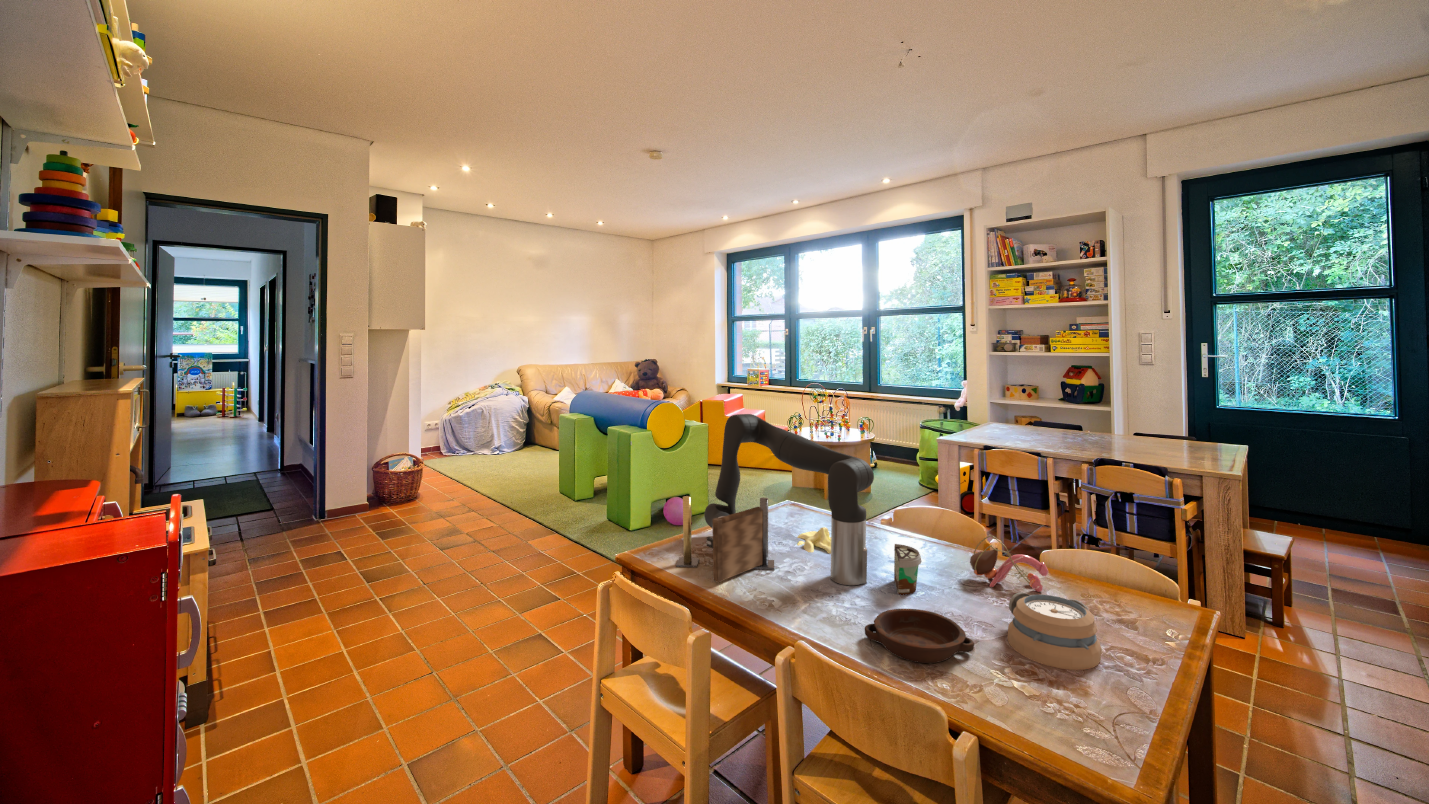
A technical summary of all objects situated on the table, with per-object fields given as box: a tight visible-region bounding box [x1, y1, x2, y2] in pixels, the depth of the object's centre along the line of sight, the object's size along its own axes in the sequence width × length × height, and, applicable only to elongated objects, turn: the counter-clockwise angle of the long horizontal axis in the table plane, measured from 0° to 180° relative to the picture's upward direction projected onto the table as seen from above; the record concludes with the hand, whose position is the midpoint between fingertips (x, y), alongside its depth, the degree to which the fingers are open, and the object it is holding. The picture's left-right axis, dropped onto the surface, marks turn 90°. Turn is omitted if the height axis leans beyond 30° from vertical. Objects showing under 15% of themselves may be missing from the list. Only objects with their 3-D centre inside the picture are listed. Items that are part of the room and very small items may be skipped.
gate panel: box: [712, 506, 763, 583], centre depth 160 cm, size 18×2×17 cm, turn 133°
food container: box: [893, 543, 922, 596], centre depth 151 cm, size 12×6×10 cm, turn 168°
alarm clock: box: [1007, 591, 1102, 671], centre depth 124 cm, size 17×9×23 cm
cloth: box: [796, 527, 831, 555], centre depth 185 cm, size 22×19×6 cm
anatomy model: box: [969, 534, 1049, 593], centre depth 153 cm, size 11×15×17 cm
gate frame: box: [675, 495, 775, 571], centre depth 168 cm, size 28×6×20 cm, turn 85°
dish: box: [864, 608, 975, 664], centre depth 122 cm, size 18×22×5 cm
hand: (730, 552), depth 160 cm, fingers closed
